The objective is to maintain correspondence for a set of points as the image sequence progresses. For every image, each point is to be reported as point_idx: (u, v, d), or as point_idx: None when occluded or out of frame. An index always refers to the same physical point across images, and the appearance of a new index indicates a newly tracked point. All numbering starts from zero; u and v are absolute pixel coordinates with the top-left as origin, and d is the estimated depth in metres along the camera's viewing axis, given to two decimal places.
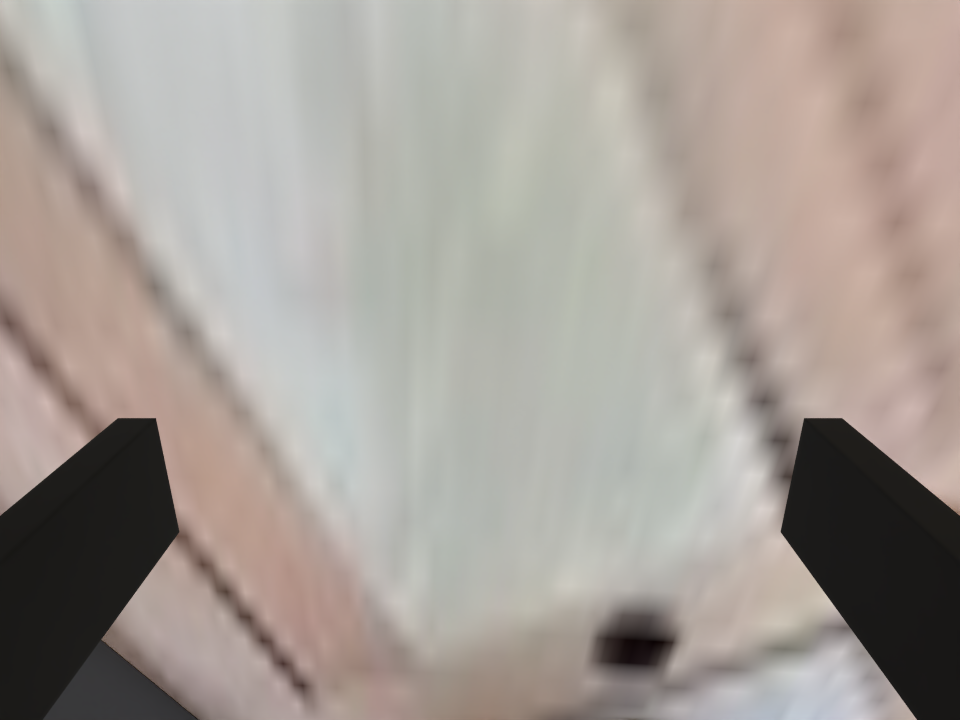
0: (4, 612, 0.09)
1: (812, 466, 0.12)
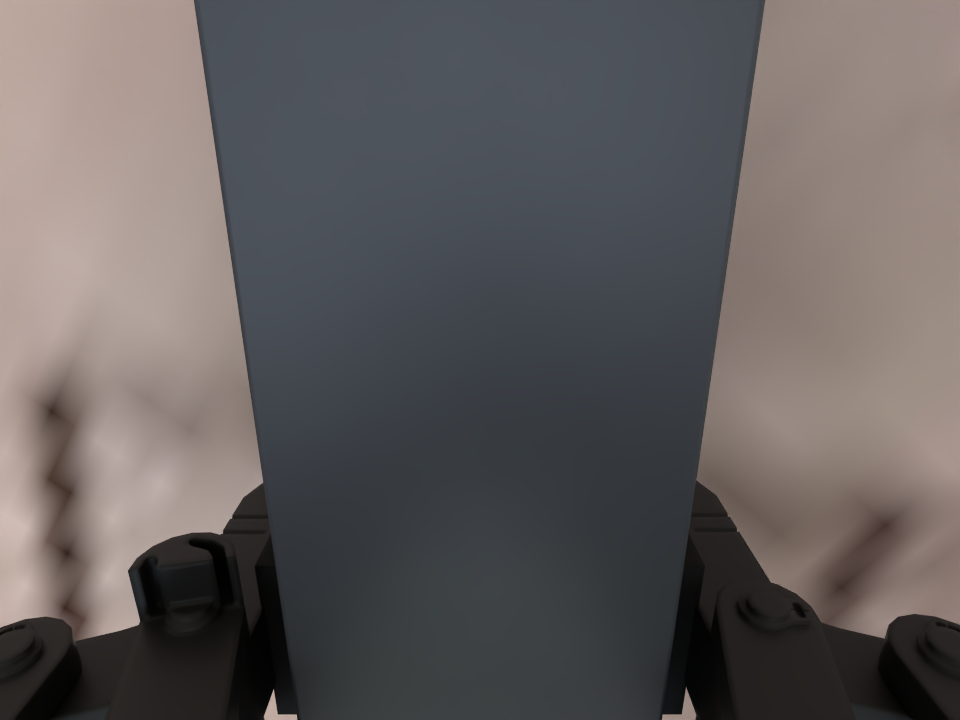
0: None
1: None
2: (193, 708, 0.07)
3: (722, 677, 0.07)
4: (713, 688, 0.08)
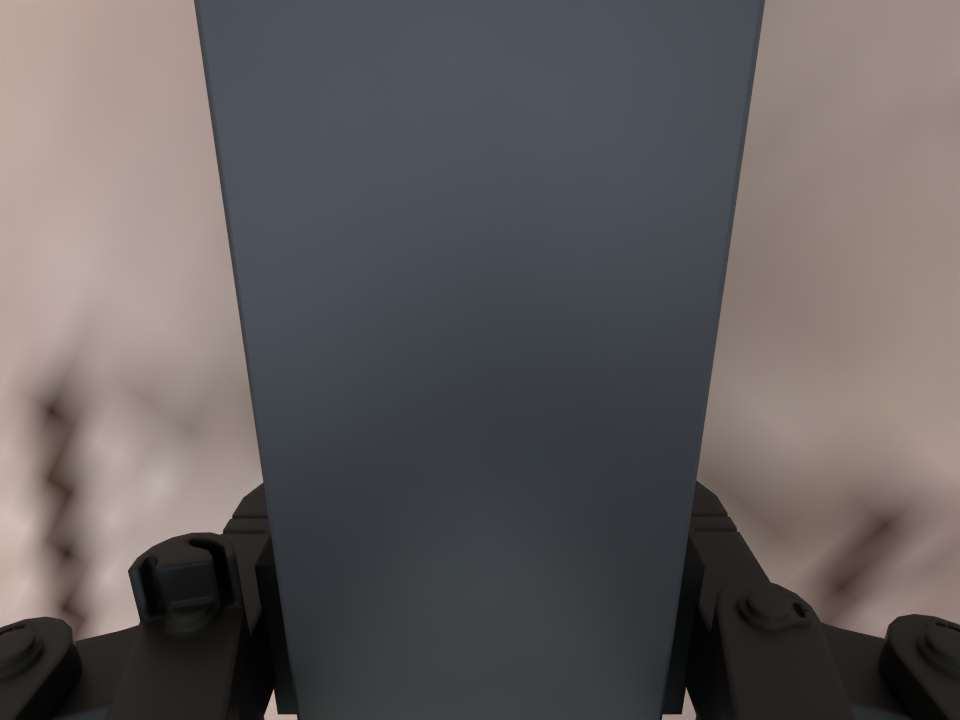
0: None
1: None
2: (193, 708, 0.07)
3: (722, 677, 0.07)
4: (713, 688, 0.08)
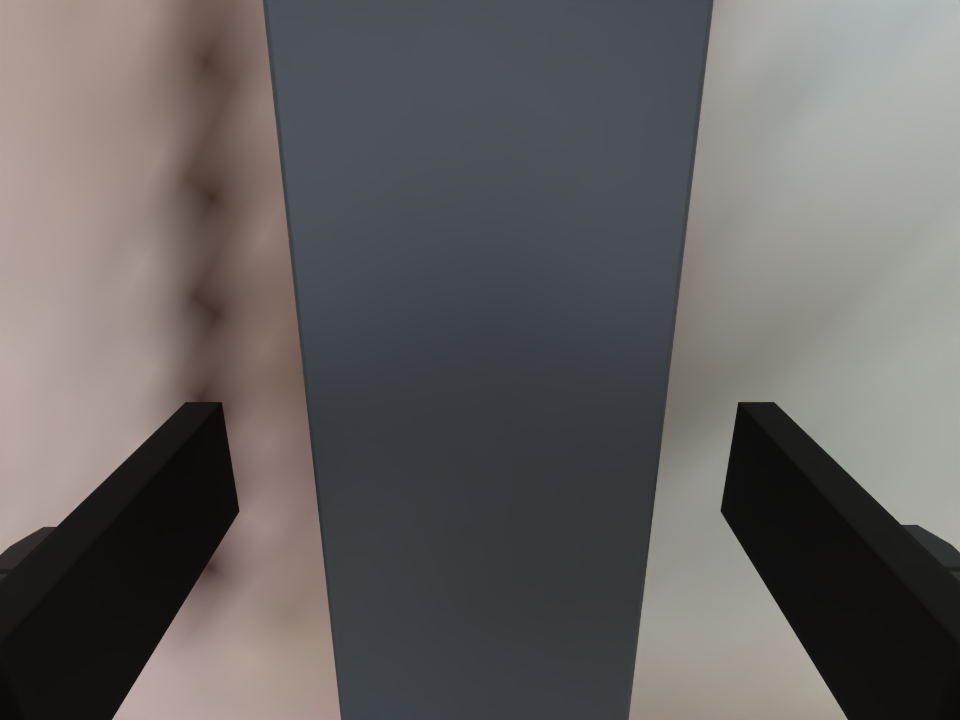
0: (110, 574, 0.09)
1: (744, 447, 0.13)
2: None
3: None
4: None
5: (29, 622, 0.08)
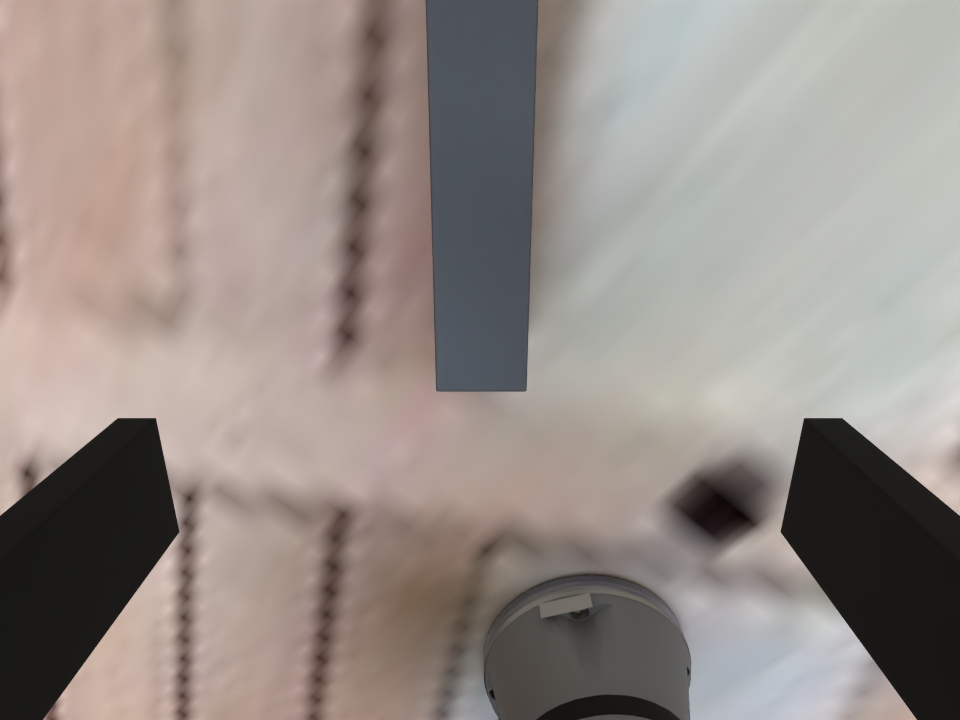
0: (4, 612, 0.09)
1: (812, 466, 0.12)
2: None
3: None
4: None
5: None
